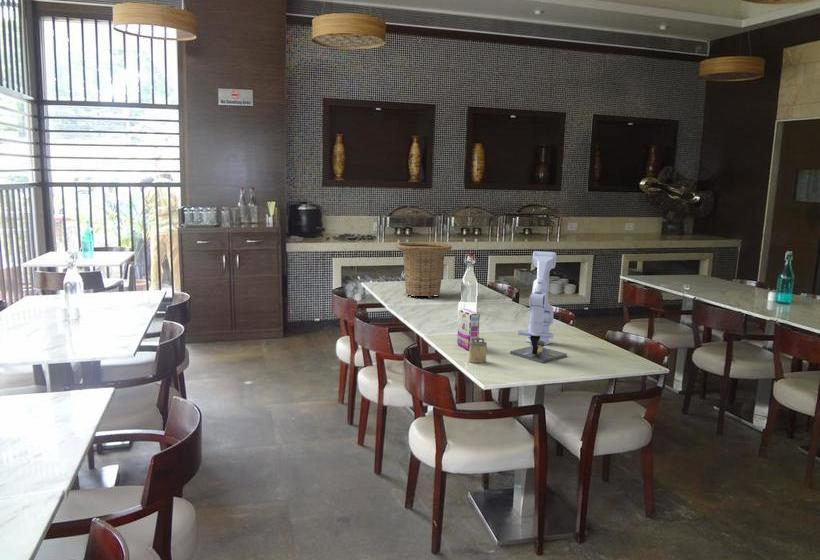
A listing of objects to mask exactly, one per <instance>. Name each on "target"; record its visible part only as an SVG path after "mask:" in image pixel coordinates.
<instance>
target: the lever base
mask: <svg viewBox="0 0 820 560" xmlns="http://www.w3.org/2000/svg"><path fill="white" fill-rule="evenodd" d="M532 350H533V346H531V345H530V346H526V347H522V348H518V349H513V350H510V351H509V352H510V353H509V354H510V355H512V354H513V355H512V356H516V355H517V356H516V357H519V356H520V358H524V359H526V358H527V359H526V360H531V361H534V362H538V363H541V364H544V363H547V362H551V361H555V359H556V360H558V359H562V358H565V357H566V358H567V357H568V354H567V353H566V352H562V351H560V350H559V351H558V350H554V349H551V348H548V347H545V346H544V347H542V355H536V354H532Z"/></svg>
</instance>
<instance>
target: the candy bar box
mask: <svg viewBox="0 0 820 560" xmlns="http://www.w3.org/2000/svg"><path fill="white" fill-rule="evenodd" d="M480 315H481V313H479V312H476V311H474V310H472V309H469V308H463V309H458V321H457V322H458V323H457V340H456V341H457V343H456V344H458V345H460V346H461V347H460V346H459V347H460V348H462V347H463V348H462V349H464V348H465V350H466V351H468V352H469V350H470V342H472V338H477V337H479V335H480V334H479V333H480V320H481V319H480V317H481V316H480ZM479 338H480V337H479ZM476 341H477V340H475V341H474V342H476ZM458 345H457V346H458Z"/></svg>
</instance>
